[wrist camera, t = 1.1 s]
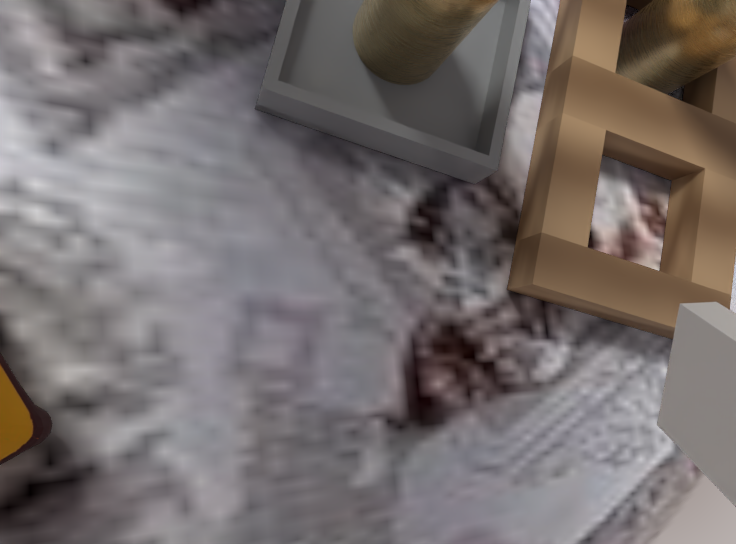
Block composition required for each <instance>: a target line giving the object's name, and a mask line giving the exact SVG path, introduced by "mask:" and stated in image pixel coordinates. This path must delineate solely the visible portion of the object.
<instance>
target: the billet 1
mask: <svg viewBox="0 0 736 544" xmlns="http://www.w3.org/2000/svg"><path fill="white" fill-rule="evenodd" d="M497 2H498V0H364V1H363V3H362V5H361V6H360V8H359V10H358V12H357V14H356V17H355V19H354V23H353V41H354V45H355V48H356V51H357V53H358V55H359V57H360V59H361V60H362V62H363V63H364V64H365V66H366V67H367V68H368V69H369V70H370V71H371V72H373V73H374V74H375V75H376V76H378V77H380V78H381V79H383V80H385V81H387V82H390V83H394V84H398V85H412V84H417V83H419V82H422V81H424V80H426V79H427V78H429V77H430V76H431V75H432V74H433V73H434V72H435V71H436V70H437V69H438V68H439V67H440V65H441V64H442V63H443V62H444V61H445V60H446V59H447V58H448V56H449V55H450V54H451V53H452V52H453V51H454V50H455V49H456V47H457V46H458V45H459V44H460V43H461V42H462V41H463V40H464V39H465V37H466V36H467V35H468V34H469V33H470V32H471V31H472V30H473V28H474V27H475V26H476V25H477V24H478V23H479V22H480V21H481V20H482V18H483V17H484V16H485V15H486V14H487V13H488V12H489V11H490V9H491V8H492V7H493V6H494V5H495V4H496V3H497Z"/></svg>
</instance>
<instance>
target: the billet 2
mask: <svg viewBox="0 0 736 544" xmlns="http://www.w3.org/2000/svg"><path fill="white" fill-rule="evenodd" d="M735 57H736V0H653V1H652V2H651V3H649V4H648V5H647V6H645V7H644V8H643V9H641V10H640V11H639V12H637V13H636V14H635V15H633V16H632V17H631V18H630V19H628V20H627V21H626V22H624V23H623V27H622V34H621V40H620V46H619V52H618V59H617V65H616V71H615V73H616V74H619V75H621V76H624V77H626V78H628V79H631V80H633V81H636V82H638V83H640V84H643V85H645V86H648V87H650V88H652V89H655V90H657V91H660V92H662V93H664V94H669V93H671V92H673V91H675V90H676V89H678V88H680V87H682V86H684V85H686V84H687V83H689V82H691V81H693V80H695V79H697V78H698V77H700V76H702V75H704V74H706V73H708V72H709V71H711V70H713V69H715V68H717V67H719V66H720V65H722V64H724V63H726V62H728V61H729V60H731V59H733V58H735Z"/></svg>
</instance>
